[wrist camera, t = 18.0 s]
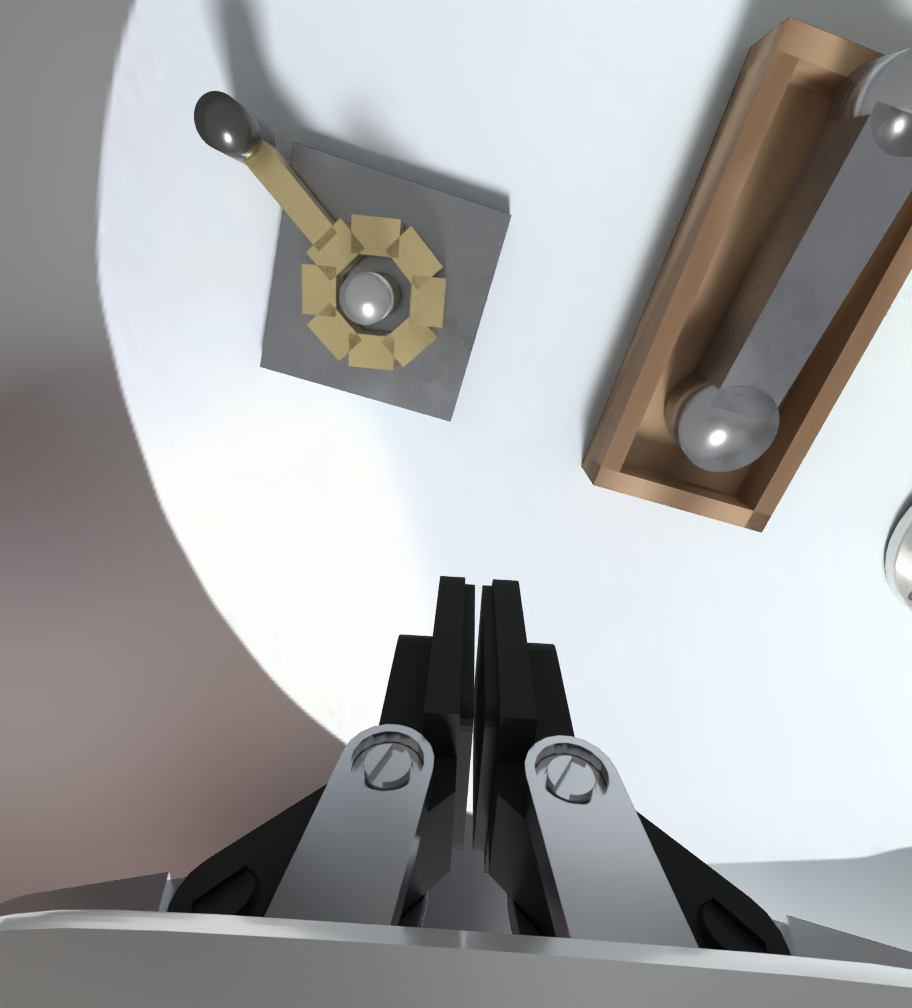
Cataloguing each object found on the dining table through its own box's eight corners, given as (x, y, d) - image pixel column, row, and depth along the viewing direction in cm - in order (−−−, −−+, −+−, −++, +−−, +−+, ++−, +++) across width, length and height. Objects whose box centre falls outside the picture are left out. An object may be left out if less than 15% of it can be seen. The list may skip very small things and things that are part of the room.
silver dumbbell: (848, 39, 25) (900, 18, 22) (948, 78, 25) (1012, 63, 22) (649, 434, 35) (665, 458, 32) (724, 456, 35) (747, 481, 32)
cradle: (944, 122, 29) (1006, 103, 26) (735, 510, 38) (761, 532, 34) (750, 46, 28) (789, 17, 24) (581, 466, 36) (593, 484, 33)
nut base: (509, 216, 31) (522, 202, 25) (450, 417, 35) (449, 447, 29) (298, 146, 29) (258, 113, 23) (265, 364, 34) (224, 383, 28)
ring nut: (472, 304, 31) (474, 309, 27) (374, 389, 33) (363, 405, 29) (289, 65, 27) (259, 28, 23) (189, 178, 29) (145, 162, 25)
